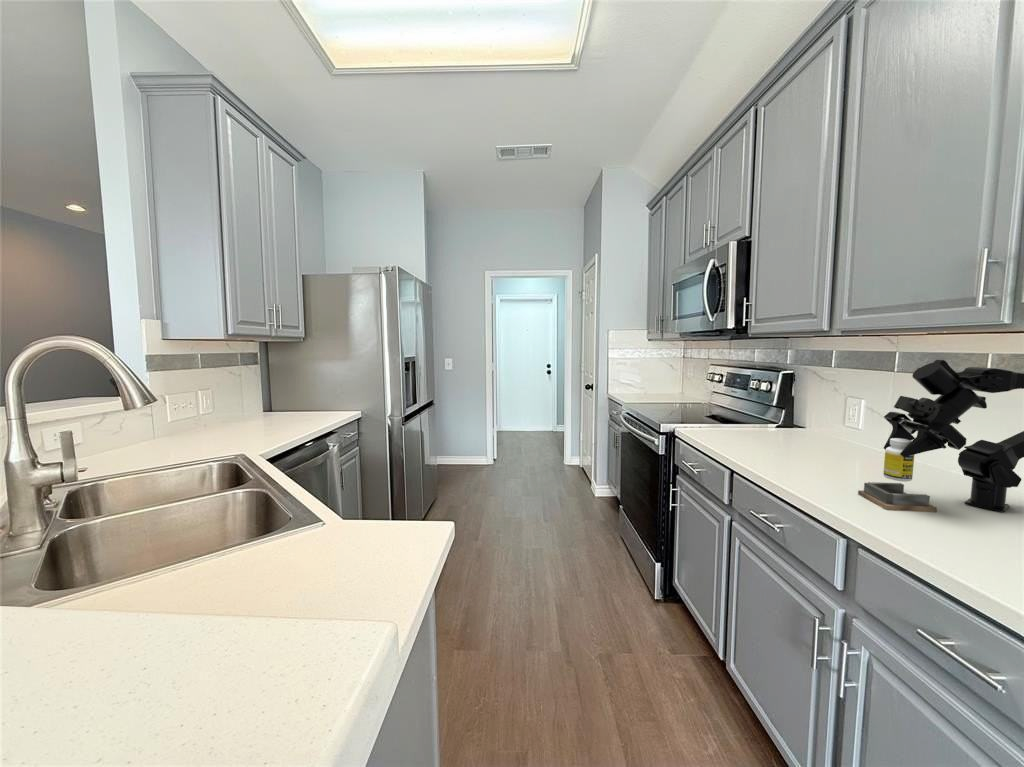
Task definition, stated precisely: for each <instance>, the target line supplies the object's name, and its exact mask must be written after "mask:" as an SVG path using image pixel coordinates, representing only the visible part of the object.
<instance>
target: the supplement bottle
mask: <svg viewBox="0 0 1024 767" xmlns="http://www.w3.org/2000/svg"><path fill="white" fill-rule="evenodd" d="M912 441H913V440H907V439H900V438H891V439H890V445H891V446H890V447H887V448H886V450H885V449H884V462H883V473H882V474H883V477H884V478H885V479H888V480H892V481H897V482H906V483H907V482H911V481H912V480H913V476H914V462H915V455H911V456H907V457H902V456H901V455H900V453H901V452H902V451H903V450H904V448H905V447H907V446H908V445H909V444H910V443H911V442H912Z"/></svg>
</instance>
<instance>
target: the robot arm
mask: <svg viewBox="0 0 1024 767" xmlns="http://www.w3.org/2000/svg"><path fill="white" fill-rule="evenodd" d="M912 378H913V379H914V380H915V381H916V382H917V383H918V384H919V385H920V386H921V387H922V388H924V389H925V390H926V391H927V392H928V393H929V394H930V395H932V396H935V395H937V396H938V395H939V396H938V397H937V398H935V399H931V398H927V397H920V399H918V398H914V397H910V396H905V395H904V396H903V395H899V397H898V398H897V401H896V402H895V404H894V406H893V408H894V409H897V410H900V411H901V410H902V411H904V412H906V413H908V414H906V413H901V412H898V411H897V412H896V411H889V412H888V413H886V414H885V415H884V416H883V418H884V419H885V420H886V421H887V422H888V423H889V424H890V425H891V426H892V431H891V433H890V435H889V437H888V439H887V441H886V443H885V444H884V446H883V449H884V451H885V450H886V448H887V447H890V446H891V445H890V439H891V438H900V439H907V440H911V441H912V442H911V443H910V444H909V445H908V446H907V447H905V448H904V450H903V451H902V452H901V453H900V455H901V456H902V457H907V456H911V455H914V456H915V455H918V454H922V453H925V452H926V453H927V452H929V451H935V450H940V449H947V446H948V447H949V448H951V449H954V450H959V453H958V459H957V464H958V466H959V467H960V468H961V471H962V473H963V475H964V476H965V477H969V478H971V479H972V480H971V488H970V489H971V490H970V498H968V499H967V500H965V501H964V504H965V505H967V506H973V507H976V508H982V509H987V510H991V511H995V512H1001V513H1005V512H1006V511H1007V510H1008V509H1009V508H1010V507H1011V504H1009V503H1006V500H1007V489H1008V488H1009V489H1011V488H1018V487H1019V485H1020V483H1021V481H1022V478H1021V477H1020V475H1018V474H1017V473H1016V472H1015V471H1014V470H1015V469H1016V466H1017V465H1018V462H1019V460H1021V459H1022V458H1024V430H1022V431H1021V432H1019V433H1016V434H1014V435H1011V436H1010V437H1008V438H1006V439H1004V440H1001V441H999V442H992V441H988V440H984V439H980V440H977V441H976V442H974V443H973V444H970V445H967V438H966V437H965V436H964V435H963V434H962V433H961V432H960V431H959V430H958V429H957V428H955V427H954V426H953V425H952V424H956V425H958V424H960V423H961V422H962V421H961V419H959V418H960V417H961V416H963V415H964V414H965V413H966V412H968V411H969V410H970V409H971V408H979V409H987V408H988V405H987V400H986V399H987V397H986V396H981V395H978V394H977V393H976V392H981V393H983V392H984V393H988V394H996V393H1004V392H1011V391H1013V390H1019V389H1020V390H1021V389H1022V390H1023V389H1024V372H1016V371H1013V370H1006V369H1002V368H993V367H983V366H982V367H980V366H969V367H966V368H964V370H963V371H958V372H956V371H955V370H954V369H953V368H952V367H950V365H949V363H948V362H947V361H945V359H935V360H934V361H932V362H930V363H927V364H924V365H922V366H921V367H918V368H917V369H915V370H914V371H913V373H912ZM916 432H917V434H916V436H914V435H913V434H915V433H916ZM946 445H947V446H946ZM966 445H967V446H966ZM962 448H964V449H963V450H961V449H962ZM960 450H961V451H960Z"/></svg>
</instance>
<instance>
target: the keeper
mask: <svg viewBox="0 0 1024 767" xmlns="http://www.w3.org/2000/svg"><path fill="white" fill-rule="evenodd" d="M863 484H864V485H863V490H859V489H858V490H857V495H859V496H860V497H862V498H864V499H866V500H868V501H870V502H871V503H873V504H875V505H876V506H878V507H880V508H883V509H884V510H885V511H902V512H903V511H905V512H906V511H908V512H933V513H934V512H935V513H936V512H937V511H938V510H937V508H938V507H936V506H935V505H932V504H930V499H931V498H930V495H927V494H923V493H922V494H919V493H907V492H904V491H905V490H904V488H905V484H903V483H901V482H875V481H872V482H871V481H870V482H869V481H868V482H864V483H863Z"/></svg>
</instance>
